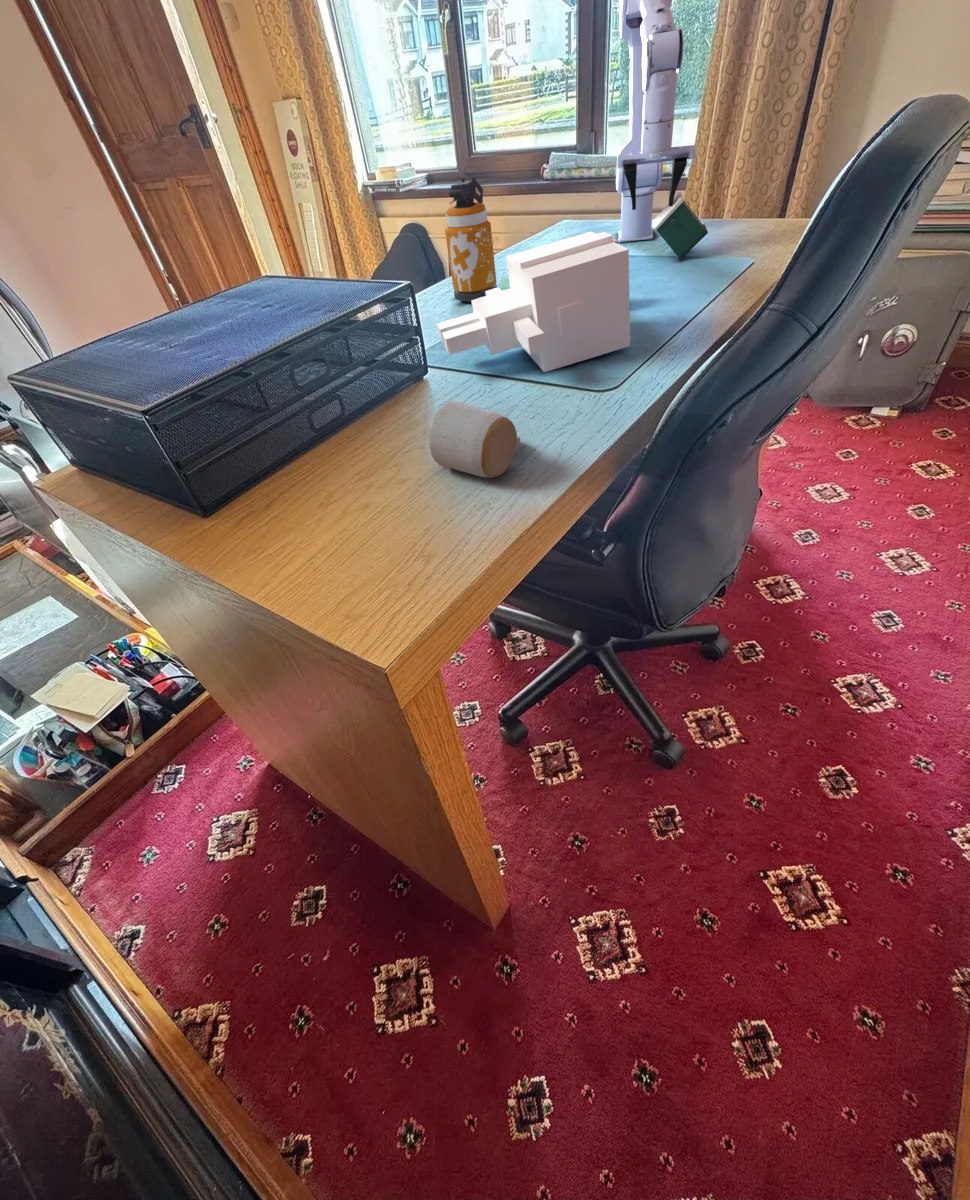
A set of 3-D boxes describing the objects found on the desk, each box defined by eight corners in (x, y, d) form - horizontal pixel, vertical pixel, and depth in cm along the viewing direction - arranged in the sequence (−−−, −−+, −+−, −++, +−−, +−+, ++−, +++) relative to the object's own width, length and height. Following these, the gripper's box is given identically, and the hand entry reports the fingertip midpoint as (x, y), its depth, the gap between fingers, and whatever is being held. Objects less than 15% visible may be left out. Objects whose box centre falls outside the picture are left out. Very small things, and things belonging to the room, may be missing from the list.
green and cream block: (653, 229, 115) (682, 199, 111) (652, 221, 120) (679, 191, 116) (679, 261, 118) (708, 233, 114) (677, 251, 124) (704, 224, 119)
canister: (448, 304, 116) (430, 186, 102) (469, 287, 123) (454, 175, 110) (488, 304, 113) (474, 182, 99) (507, 287, 120) (497, 171, 106)
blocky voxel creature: (440, 358, 100) (589, 313, 101) (470, 417, 82) (650, 361, 83) (417, 267, 90) (582, 218, 91) (446, 311, 72) (651, 249, 73)
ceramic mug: (489, 492, 64) (482, 429, 58) (433, 477, 68) (421, 416, 62) (536, 449, 70) (533, 388, 64) (482, 437, 74) (475, 379, 68)
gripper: (618, 128, 105) (615, 214, 115) (700, 117, 102) (690, 207, 111) (619, 124, 110) (616, 207, 119) (697, 114, 107) (688, 200, 116)
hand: (652, 207), depth 116 cm, fingers open, 7 cm apart
